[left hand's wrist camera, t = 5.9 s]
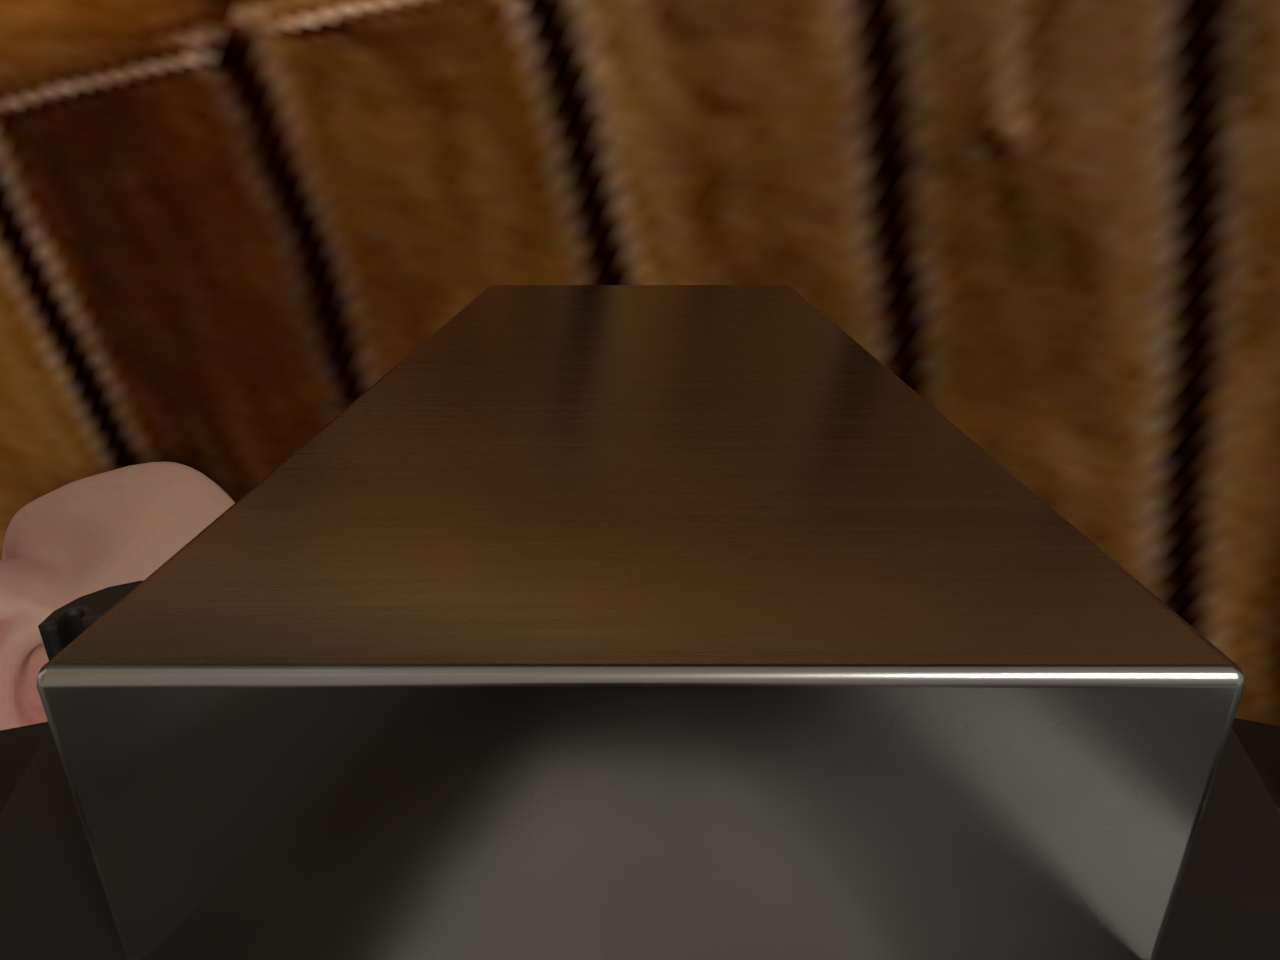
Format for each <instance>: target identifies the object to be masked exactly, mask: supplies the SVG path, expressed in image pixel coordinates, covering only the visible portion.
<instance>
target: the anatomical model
mask: <svg viewBox="0 0 1280 960" xmlns="http://www.w3.org/2000/svg"><path fill="white" fill-rule="evenodd" d="M234 503H235V502H234V501H233V500H232V499H231V498H230V497H229V495H228V494H227V493H226V492H225V491H224V490H223V489H222V488H221V487H219V486H218V485H217V484H216V483H215V482H213V481H212V480H211V479H209V478H208V477H207V476H205V475H204V474H202V473H201V472H199V471H197V470H195V469H193V468H191V467H188V466H186V465H183V464H179V463H174V462H150V463H144V464H137V465H130V466H126V467H123V468H119V469H115V470H111V471H108V472H104V473H100V474H97V475H93V476H89V477H86V478H83V479H80V480H77V481H74V482H71V483H68V484H66V485H64V486H62V487H60V488H58V489H56V490H54V491H52V492H50V493H47V494H45V495H43V496H41V497H39V498H37V499H35V500H33V501H32V502H30V503H28V504H27V505H25V506H24V507H23V508H21V509H20V510H19V511H18V512H17V513H16V514H15V515H14V517H13V518H12V520H11V521H10V523H9V526H8V528H7V530H6V533H5V538H4V542H3V550H2V559H0V731H1V730H6V729H11V728H17V727H22V726H27V725H32V724H38V723H43V722H48V720H47V717H46V714H45V710H44V707H43V704H42V701H41V698H40V695H39V692H38V689H37V686H36V683H37V675H38V673H39V671H40V669H41V668H42V667H43V666H44V665H45V664H46V663H47V662H49V659H48V656H47V653H46V650H45V647H44V644H43V640H42V637H41V634H40V631H39V628H38V625H39V624H41V623H42V622H43V621H44V620H45V619H46V618H47V617H48V616H49V615H50V614H51V613H52V612H54V611H55V610H57V609H59V608H61V607H62V606H64V605H66V604H68V603H70V602H72V601H74V600H75V599H77V598H79V597H82V596H85V595H88V594H90V593H93V592H96V591H99V590H102V589H105V588H108V587H111V586H116V585H121V584H126V583H131V582H136V581H143V580H145V579H146V578H147V577H149V576H150V575H151V574H152V573H153V572H154V571H156V570H157V569H158V568H159V567H160V566H161V565H163V564H164V563H165V562H166V561H167V560H168V559H170V558H171V557H172V556H173V555H174V554H176V553H177V552H178V551H179V550H180V549H181V548H183V547H184V546H185V545H186V544H187V543H188V542H190V541H191V540H192V539H193V538H194V537H196V536H197V535H198V534H199V533H200V532H201V531H203V530H204V529H205V528H206V527H207V526H208V525H210V524H211V523H212V522H213V521H214V520H216V519H217V518H218V517H219V516H220V515H221V514H223V513H224V512H225V511H226V510H227V509H228V508H230V507H231V506H232V505H233V504H234Z"/></svg>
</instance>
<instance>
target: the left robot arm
mask: <svg viewBox="0 0 1280 960" xmlns="http://www.w3.org/2000/svg"><path fill="white" fill-rule="evenodd" d="M143 581H144V580H143ZM143 581H136V582H131V583H126V584H121V585H116V586H111V587H108V588H105V589H102V590H99V591H96V592H93V593H90V594H88V595H85V596H82V597H79V598H77V599H75V600H74V601H72V602H70V603H68V604H66V605H64V606H62V607H61V608H59V609H57V610H55V611H54V612H52V613H51V614H50V615H49V616H48V617H47V618H46V619H45V620H44V621H43V622H42V623H41V624H39V625H38V628H39V631H40V634H41V637H42V640H43V644H44V647H45V650H46V653H47V656H48V659H49V661H50V660H51V659H52V658H53V657H54V656H56V655H57V654H58V653H59V652H60V651H61V650H63V649H64V648H65V647H66V646H67V645H69V644H70V643H71V642H72V641H73V640H74V639H76V638H77V637H78V636H79V635H80V634H81V633H83V632H84V631H85V630H86V629H87V628H89V627H90V626H91V625H92V624H93V623H94V622H96V621H97V620H98V619H99V618H100V617H101V616H103V615H104V614H105V613H106V612H107V611H109V610H110V609H111V608H112V607H113V606H114V605H116V604H117V603H118V602H119V601H120V600H121V599H123V598H124V597H125V596H126V595H127V594H129V593H130V592H131V591H132V590H133V589H134V588H136V587H137V586H138V585H139V584H140V583H141V582H143ZM0 960H140V959H131V958H129V957H127V956H125V954H124V951H123V948H122V944H121V941H120V938H119V935H118V932H117V929H116V926H115V923H114V920H113V917H112V914H111V911H110V908H109V905H108V902H107V899H106V896H105V893H104V890H103V887H102V884H101V881H100V878H99V875H98V872H97V869H96V865H95V862H94V859H93V856H92V853H91V850H90V847H89V844H88V841H87V838H86V835H85V832H84V829H83V826H82V823H81V820H80V817H79V814H78V811H77V808H76V805H75V802H74V799H73V796H72V793H71V789H70V786H69V783H68V780H67V777H66V774H65V771H64V768H63V765H62V762H61V759H60V756H59V753H58V750H57V747H56V744H55V741H54V738H53V735H52V732H51V729H50V726H49V723H48V722H43V723H38V724H32V725H27V726H22V727H17V728H11V729H6V730H1V731H0ZM1140 960H1280V727H1279V726H1274V725H1268V724H1263V723H1258V722H1252V721H1247V720H1242V719H1236V718H1234V721H1233V724H1232V727H1231V730H1230V733H1229V736H1228V739H1227V742H1226V745H1225V748H1224V751H1223V754H1222V757H1221V760H1220V763H1219V766H1218V769H1217V772H1216V775H1215V779H1214V782H1213V785H1212V788H1211V791H1210V794H1209V797H1208V800H1207V803H1206V806H1205V809H1204V812H1203V815H1202V818H1201V821H1200V824H1199V827H1198V830H1197V833H1196V836H1195V839H1194V842H1193V845H1192V848H1191V851H1190V854H1189V857H1188V860H1187V863H1186V866H1185V869H1184V872H1183V876H1182V879H1181V882H1180V885H1179V888H1178V891H1177V894H1176V897H1175V900H1174V903H1173V906H1172V909H1171V912H1170V915H1169V918H1168V921H1167V924H1166V927H1165V930H1164V933H1163V936H1162V939H1161V942H1160V945H1159V948H1158V951H1157V954H1156V955H1154V956H1152V957H1150V958H1140Z"/></svg>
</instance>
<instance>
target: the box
mask: <svg viewBox="0 0 1280 960" xmlns="http://www.w3.org/2000/svg"><path fill="white" fill-rule="evenodd" d="M36 686H37V689H38V692H39V695H40V698H41V701H42V704H43V707H44V710H45V714H46V717H47V720H48V723H49V726H50V729H51V732H52V735H53V738H54V741H55V744H56V747H57V750H58V753H59V756H60V759H61V762H62V765H63V768H64V771H65V774H66V777H67V780H68V783H69V786H70V789H71V793H72V796H73V799H74V802H75V805H76V808H77V811H78V814H79V817H80V820H81V823H82V826H83V829H84V832H85V835H86V838H87V841H88V844H89V847H90V850H91V853H92V856H93V859H94V862H95V865H96V869H97V872H98V875H99V878H100V881H101V884H102V887H103V890H104V893H105V896H106V899H107V902H108V905H109V908H110V911H111V914H112V917H113V920H114V923H115V926H116V929H117V932H118V935H119V938H120V941H121V944H122V948H123V951H124V954H125V956H127V957H129V958H131V959H140V960H1140V958H1150V957H1152V956H1154V955H1156V954H1157V951H1158V948H1159V945H1160V942H1161V939H1162V936H1163V933H1164V930H1165V927H1166V924H1167V921H1168V918H1169V915H1170V912H1171V909H1172V906H1173V903H1174V900H1175V897H1176V894H1177V891H1178V888H1179V885H1180V882H1181V879H1182V876H1183V872H1184V869H1185V866H1186V863H1187V860H1188V857H1189V854H1190V851H1191V848H1192V845H1193V842H1194V839H1195V836H1196V833H1197V830H1198V827H1199V824H1200V821H1201V818H1202V815H1203V812H1204V809H1205V806H1206V803H1207V800H1208V797H1209V794H1210V791H1211V788H1212V785H1213V782H1214V779H1215V775H1216V772H1217V769H1218V766H1219V763H1220V760H1221V757H1222V754H1223V751H1224V748H1225V745H1226V742H1227V739H1228V736H1229V733H1230V730H1231V727H1232V724H1233V721H1234V718H1235V715H1236V712H1237V709H1238V706H1239V703H1240V700H1241V697H1242V694H1243V691H1244V688H1245V679H1244V674H1243V672H1242V670H1241V669H1240V667H1239V666H1238V665H1236V664H1235V663H1234V662H1233V661H1232V660H1230V659H1229V658H1228V657H1227V656H1226V655H1225V654H1223V653H1222V652H1221V651H1220V650H1219V649H1217V648H1216V647H1215V646H1214V645H1213V644H1212V643H1210V642H1209V641H1208V640H1207V639H1206V638H1205V637H1203V636H1202V635H1201V634H1200V633H1199V632H1197V631H1196V630H1195V629H1194V628H1193V627H1192V626H1190V625H1189V624H1188V623H1187V622H1186V621H1184V620H1183V619H1182V618H1181V617H1180V616H1179V615H1177V614H1176V613H1175V612H1174V611H1173V610H1172V609H1170V608H1169V607H1168V606H1167V605H1166V604H1164V603H1163V602H1162V601H1161V600H1160V599H1159V598H1157V597H1156V596H1155V595H1154V594H1153V593H1151V592H1150V591H1149V590H1148V589H1147V588H1146V587H1144V586H1143V585H1142V584H1141V583H1140V582H1139V581H1137V580H1136V579H1135V578H1134V577H1133V576H1131V575H1130V574H1129V573H1128V572H1127V571H1126V570H1124V569H1123V568H1122V567H1121V566H1120V565H1119V564H1117V563H1116V562H1115V561H1114V560H1113V559H1111V558H1110V557H1109V556H1108V555H1107V554H1106V553H1104V552H1103V551H1102V550H1101V549H1100V548H1098V547H1097V546H1096V545H1095V544H1094V543H1093V542H1091V541H1090V540H1089V539H1088V538H1087V537H1086V536H1084V535H1083V534H1082V533H1081V532H1080V531H1078V530H1077V529H1076V528H1075V527H1074V526H1073V525H1071V524H1070V523H1069V522H1068V521H1067V520H1065V519H1064V518H1063V517H1062V516H1061V515H1060V514H1058V513H1057V512H1056V511H1055V510H1054V509H1053V508H1051V507H1050V506H1049V505H1048V504H1047V503H1045V502H1044V501H1043V500H1042V499H1041V498H1040V497H1038V496H1037V495H1036V494H1035V493H1034V492H1032V491H1031V490H1030V489H1029V488H1028V487H1027V486H1025V485H1024V484H1023V483H1022V482H1021V481H1020V480H1018V479H1017V478H1016V477H1015V476H1014V475H1012V474H1011V473H1010V472H1009V471H1008V470H1007V469H1005V468H1004V467H1003V466H1002V465H1001V464H999V463H998V462H997V461H996V460H995V459H994V458H992V457H991V456H990V455H989V454H988V453H987V452H985V451H984V450H983V449H982V448H981V447H979V446H978V445H977V444H976V443H975V442H974V441H972V440H971V439H970V438H969V437H968V436H967V435H965V434H964V433H963V432H962V431H961V430H959V429H958V428H957V427H956V426H955V425H954V424H952V423H951V422H950V421H949V420H948V419H946V418H945V417H944V416H943V415H942V414H941V413H939V412H938V411H937V410H936V409H935V408H934V407H932V406H931V405H930V404H929V403H928V402H926V401H925V400H924V399H923V398H922V397H921V396H919V395H918V394H917V393H916V392H915V391H913V390H912V389H911V388H910V387H909V386H908V385H906V384H905V383H904V382H903V381H902V380H901V379H899V378H898V377H897V376H896V375H895V374H893V373H892V372H891V371H890V370H889V369H888V368H886V367H885V366H884V365H883V364H882V363H880V362H879V361H878V360H877V359H876V358H875V357H873V356H872V355H871V354H870V353H869V352H868V351H866V350H865V349H864V348H863V347H862V346H860V345H859V344H858V343H857V342H856V341H855V340H853V339H852V338H851V337H850V336H849V335H847V334H846V333H845V332H844V331H843V330H842V329H840V328H839V327H838V326H837V325H836V324H835V323H833V322H832V321H831V320H830V319H829V318H827V317H826V316H825V315H824V314H823V313H822V312H820V311H819V310H818V309H817V308H816V307H815V306H813V305H812V304H811V303H810V302H809V301H807V300H806V299H805V298H804V297H803V296H802V295H800V294H799V293H798V292H797V291H796V290H794V289H793V288H792V287H791V286H788V285H492V286H490V287H488V288H487V289H486V290H485V291H484V292H482V293H481V294H480V295H479V296H478V297H477V298H475V299H474V300H473V301H472V302H471V303H469V304H468V305H467V306H466V307H465V308H464V309H462V310H461V311H460V312H459V313H458V314H457V315H455V316H454V317H453V318H452V319H451V320H450V321H448V322H447V323H446V324H445V325H444V326H442V327H441V328H440V329H439V330H438V331H437V332H435V333H434V334H433V335H432V336H431V337H430V338H428V339H427V340H426V341H425V342H424V343H422V344H421V345H420V346H419V347H418V348H417V349H415V350H414V351H413V352H412V353H411V354H410V355H408V356H407V357H406V358H405V359H404V360H402V361H401V362H400V363H399V364H398V365H397V366H395V367H394V368H393V369H392V370H391V371H390V372H388V373H387V374H386V375H385V376H384V377H382V378H381V379H380V380H379V381H378V382H377V383H375V384H374V385H373V386H372V387H371V388H370V389H368V390H367V391H366V392H365V393H364V394H362V395H361V396H360V397H359V398H358V399H357V400H355V401H354V402H353V403H352V404H351V405H350V406H348V407H347V408H346V409H345V410H344V411H343V412H341V413H340V414H339V415H338V416H337V417H335V418H334V419H333V420H332V421H331V422H330V423H328V424H327V425H326V426H325V427H324V428H323V429H321V430H320V431H319V432H318V433H317V434H315V435H314V436H313V437H312V438H311V439H310V440H308V441H307V442H306V443H305V444H304V445H303V446H301V447H300V448H299V449H298V450H297V451H295V452H294V453H293V454H292V455H291V456H290V457H288V458H287V459H286V460H285V461H284V462H283V463H281V464H280V465H279V466H278V467H277V468H275V469H274V470H273V471H272V472H271V473H270V474H268V475H267V476H266V477H265V478H264V479H263V480H261V481H260V482H259V483H258V484H257V485H255V486H254V487H253V488H252V489H251V490H250V491H248V492H247V493H246V494H245V495H244V496H243V497H241V498H240V499H239V500H238V501H237V502H236V503H234V504H233V505H232V506H231V507H230V508H228V509H227V510H226V511H225V512H224V513H223V514H221V515H220V516H219V517H218V518H217V519H216V520H214V521H213V522H212V523H211V524H210V525H208V526H207V527H206V528H205V529H204V530H203V531H201V532H200V533H199V534H198V535H197V536H196V537H194V538H193V539H192V540H191V541H190V542H188V543H187V544H186V545H185V546H184V547H183V548H181V549H180V550H179V551H178V552H177V553H176V554H174V555H173V556H172V557H171V558H170V559H168V560H167V561H166V562H165V563H164V564H163V565H161V566H160V567H159V568H158V569H157V570H156V571H154V572H153V573H152V574H151V575H150V576H149V577H147V578H146V579H145V580H144V581H143V582H141V583H140V584H139V585H138V586H137V587H136V588H134V589H133V590H132V591H131V592H130V593H129V594H127V595H126V596H125V597H124V598H123V599H121V600H120V601H119V602H118V603H117V604H116V605H114V606H113V607H112V608H111V609H110V610H109V611H107V612H106V613H105V614H104V615H103V616H101V617H100V618H99V619H98V620H97V621H96V622H94V623H93V624H92V625H91V626H90V627H89V628H87V629H86V630H85V631H84V632H83V633H81V634H80V635H79V636H78V637H77V638H76V639H74V640H73V641H72V642H71V643H70V644H69V645H67V646H66V647H65V648H64V649H63V650H61V651H60V652H59V653H58V654H57V655H56V656H54V657H53V658H52V659H51V660H50V661H49V662H47V663H46V664H45V665H44V666H43V667H42V668H41V669H40V671H39V673H38V675H37V683H36Z"/></svg>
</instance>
